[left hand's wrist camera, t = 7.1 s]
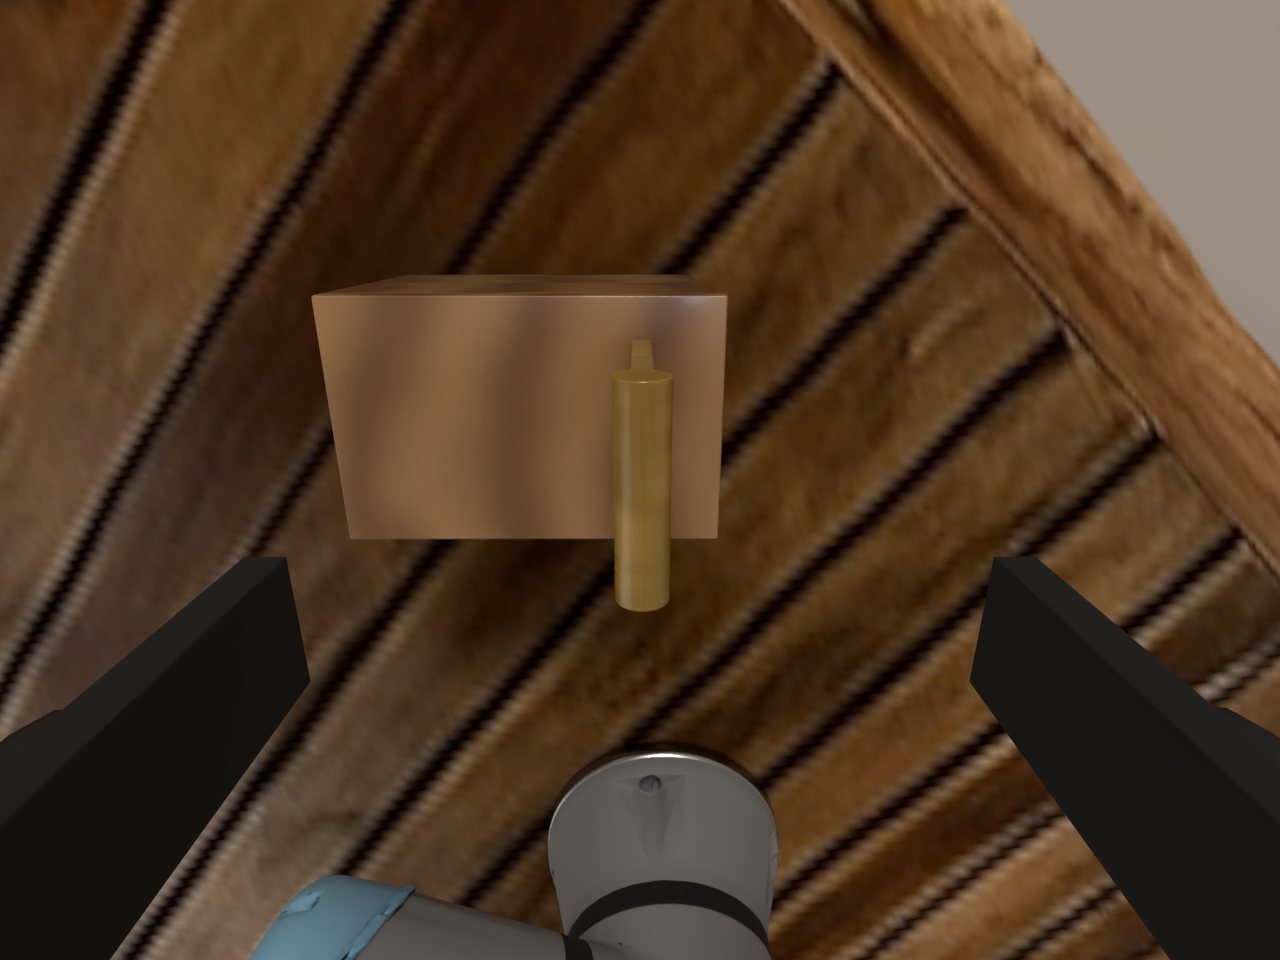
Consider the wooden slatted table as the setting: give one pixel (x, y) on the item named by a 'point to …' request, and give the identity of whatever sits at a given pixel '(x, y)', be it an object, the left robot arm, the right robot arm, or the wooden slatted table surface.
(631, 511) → the panel with bar handle
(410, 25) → the wooden slatted table surface
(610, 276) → the chest
